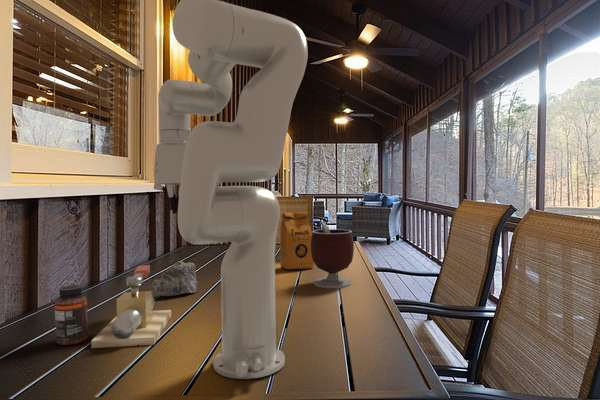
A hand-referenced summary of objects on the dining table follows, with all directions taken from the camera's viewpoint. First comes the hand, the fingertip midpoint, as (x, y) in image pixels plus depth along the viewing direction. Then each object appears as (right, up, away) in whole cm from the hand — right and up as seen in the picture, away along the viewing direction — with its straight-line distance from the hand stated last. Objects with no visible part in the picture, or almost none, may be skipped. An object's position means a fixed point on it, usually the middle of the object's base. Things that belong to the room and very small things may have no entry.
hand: (176, 213), depth 104 cm
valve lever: (-7, -15, -5) cm, 18 cm away
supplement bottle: (-17, -26, -17) cm, 35 cm away
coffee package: (+30, -24, +58) cm, 69 cm away
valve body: (-6, -24, -11) cm, 27 cm away
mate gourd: (+41, -24, +32) cm, 58 cm away
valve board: (-6, -26, -11) cm, 29 cm away
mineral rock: (-6, -25, +21) cm, 33 cm away
